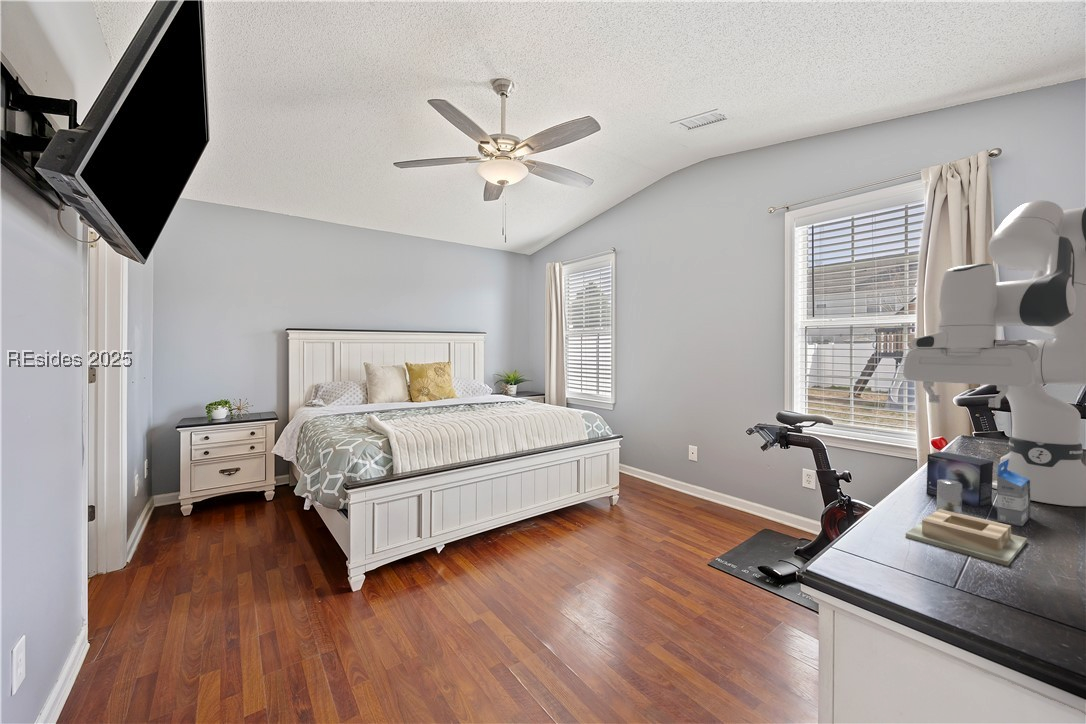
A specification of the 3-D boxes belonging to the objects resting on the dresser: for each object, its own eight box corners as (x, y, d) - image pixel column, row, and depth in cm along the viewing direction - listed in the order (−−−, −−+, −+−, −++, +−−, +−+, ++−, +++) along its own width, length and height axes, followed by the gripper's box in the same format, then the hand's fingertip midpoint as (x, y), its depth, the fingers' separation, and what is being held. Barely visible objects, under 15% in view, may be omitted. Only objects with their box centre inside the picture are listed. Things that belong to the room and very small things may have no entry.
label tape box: (1022, 527, 91) (1024, 468, 91) (994, 520, 94) (996, 464, 94) (1031, 517, 96) (1033, 462, 96) (1004, 512, 99) (1006, 458, 99)
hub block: (932, 518, 96) (932, 503, 96) (1026, 542, 84) (1027, 525, 84) (905, 536, 87) (906, 520, 87) (1007, 566, 75) (1008, 547, 75)
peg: (939, 513, 98) (940, 478, 98) (963, 519, 95) (964, 483, 95) (933, 517, 96) (934, 481, 96) (958, 523, 93) (959, 486, 93)
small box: (924, 494, 111) (925, 453, 111) (938, 490, 114) (939, 450, 114) (978, 508, 102) (980, 463, 101) (993, 504, 104) (994, 460, 104)
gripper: (1041, 340, 87) (1038, 409, 87) (911, 341, 104) (909, 399, 104) (1035, 338, 83) (1032, 411, 83) (901, 340, 100) (899, 400, 100)
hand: (963, 405), depth 94 cm, fingers open, 8 cm apart
